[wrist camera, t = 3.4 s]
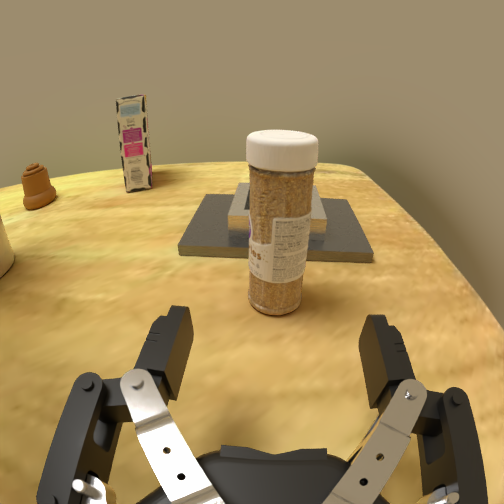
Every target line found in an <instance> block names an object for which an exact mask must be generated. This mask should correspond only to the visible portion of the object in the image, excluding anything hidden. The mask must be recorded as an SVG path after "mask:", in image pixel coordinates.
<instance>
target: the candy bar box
mask: <svg viewBox="0 0 504 504" xmlns="http://www.w3.org/2000/svg"><path fill="white" fill-rule="evenodd" d="M146 105H147V104H146V95H135V96H129V97H123V98H118V99H116V106H117V120H118V130H119V141H120V150H121V158H122V166H123V173H124V180H125V186H126V192H133V191H139V190H146V189H151V188H152V165H151V155H150V143H149V131H148V119H147V106H146Z"/></svg>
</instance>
